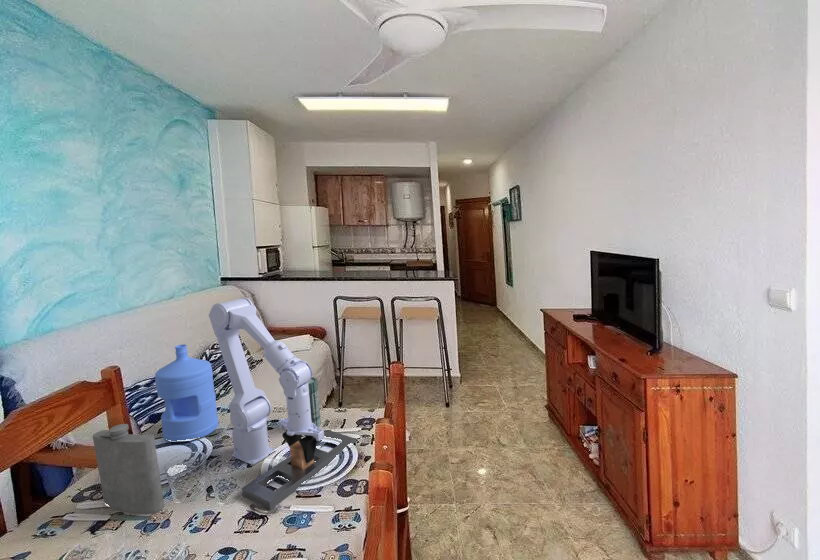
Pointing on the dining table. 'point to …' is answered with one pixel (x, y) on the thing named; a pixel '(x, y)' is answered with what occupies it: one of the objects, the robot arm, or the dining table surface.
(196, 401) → the water jug
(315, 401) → the can
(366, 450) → the dining table surface
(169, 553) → the dining table surface
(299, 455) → the square block
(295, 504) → the dining table surface
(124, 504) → the hip flask
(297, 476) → the grey flat perforated plate
